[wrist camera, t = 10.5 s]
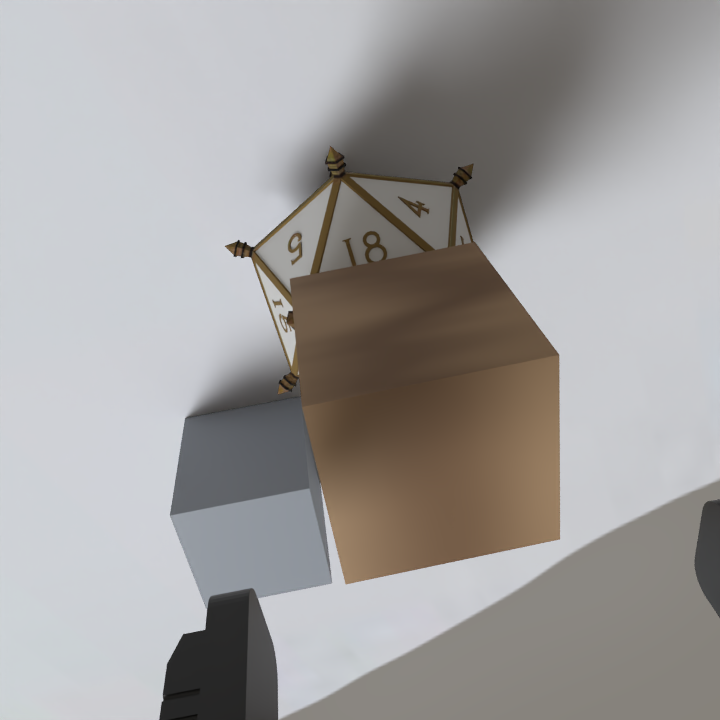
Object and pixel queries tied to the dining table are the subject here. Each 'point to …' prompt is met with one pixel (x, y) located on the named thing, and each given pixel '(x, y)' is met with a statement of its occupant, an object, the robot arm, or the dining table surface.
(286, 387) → the game die
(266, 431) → the slate block
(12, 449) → the dining table surface
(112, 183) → the dining table surface
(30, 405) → the dining table surface
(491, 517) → the walnut block
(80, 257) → the dining table surface
